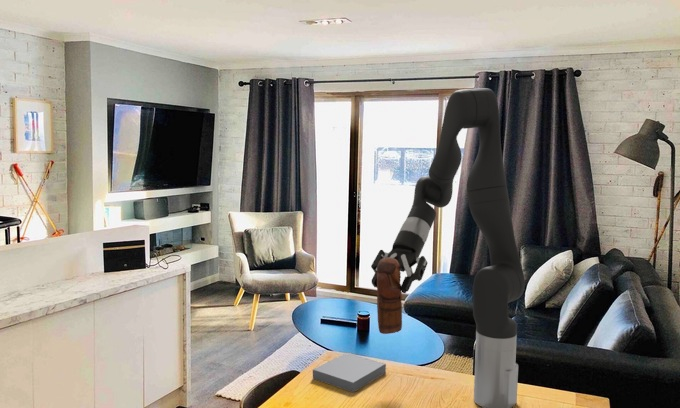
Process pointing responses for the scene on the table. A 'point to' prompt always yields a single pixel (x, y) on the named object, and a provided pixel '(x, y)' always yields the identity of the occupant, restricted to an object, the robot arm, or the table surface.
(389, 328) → the wooden figurine
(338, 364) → the base
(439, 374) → the table surface
